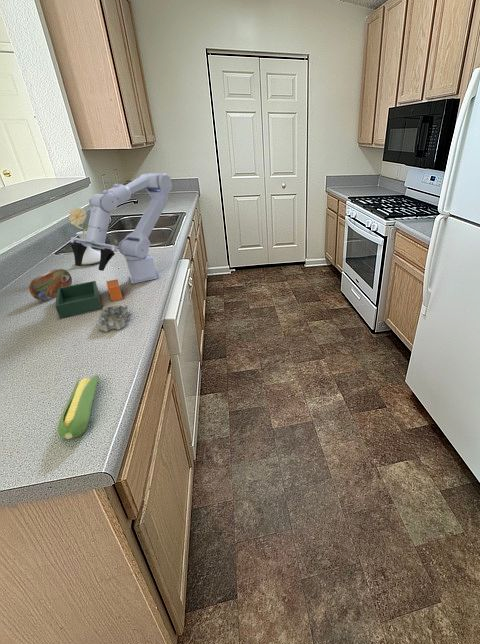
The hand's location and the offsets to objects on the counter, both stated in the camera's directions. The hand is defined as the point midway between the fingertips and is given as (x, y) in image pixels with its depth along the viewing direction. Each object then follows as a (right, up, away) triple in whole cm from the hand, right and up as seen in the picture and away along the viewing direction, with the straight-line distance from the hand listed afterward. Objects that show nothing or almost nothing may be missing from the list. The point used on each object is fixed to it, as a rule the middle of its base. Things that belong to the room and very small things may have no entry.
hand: (89, 268), depth 112 cm
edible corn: (+25, -34, -41) cm, 59 cm away
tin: (-18, -9, +9) cm, 22 cm away
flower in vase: (-22, +6, +38) cm, 44 cm away
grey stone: (+14, -18, -10) cm, 25 cm away
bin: (-4, -12, +1) cm, 13 cm away
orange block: (+6, -10, +6) cm, 13 cm away
